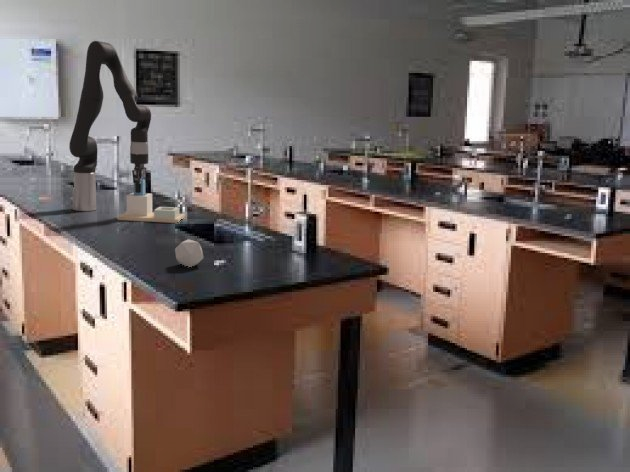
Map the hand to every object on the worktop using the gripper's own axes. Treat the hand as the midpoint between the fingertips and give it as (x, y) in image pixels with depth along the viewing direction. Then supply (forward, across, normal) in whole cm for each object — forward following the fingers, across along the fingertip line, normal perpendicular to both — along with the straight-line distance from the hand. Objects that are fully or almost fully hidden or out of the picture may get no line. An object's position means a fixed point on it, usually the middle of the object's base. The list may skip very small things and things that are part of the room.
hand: (139, 191), depth 279 cm
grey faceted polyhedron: (+12, +78, +38) cm, 88 cm away
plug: (+5, 0, 0) cm, 5 cm away
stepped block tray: (+11, +2, +6) cm, 13 cm away
